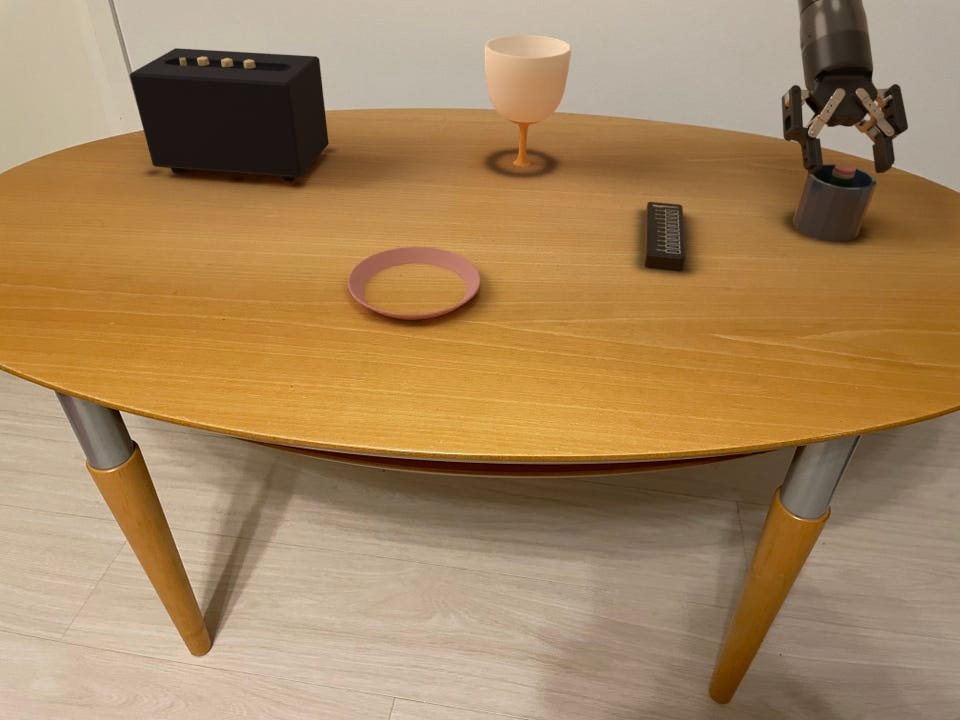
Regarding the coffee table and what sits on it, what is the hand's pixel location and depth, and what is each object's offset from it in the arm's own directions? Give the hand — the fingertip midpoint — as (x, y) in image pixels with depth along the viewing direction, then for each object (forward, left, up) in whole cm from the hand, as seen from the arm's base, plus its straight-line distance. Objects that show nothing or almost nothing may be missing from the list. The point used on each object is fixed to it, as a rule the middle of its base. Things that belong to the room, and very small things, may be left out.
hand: (850, 171), depth 88 cm
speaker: (+81, +7, -9) cm, 81 cm away
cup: (+43, -7, -9) cm, 44 cm away
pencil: (0, -1, -8) cm, 8 cm away
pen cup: (+1, -1, -9) cm, 9 cm away
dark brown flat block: (+20, +10, -9) cm, 24 cm away
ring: (+44, +31, -9) cm, 54 cm away
